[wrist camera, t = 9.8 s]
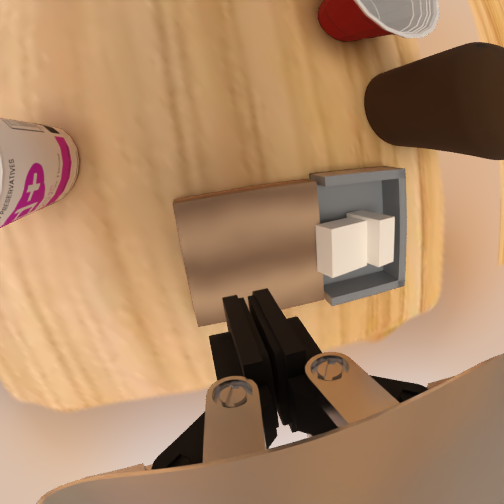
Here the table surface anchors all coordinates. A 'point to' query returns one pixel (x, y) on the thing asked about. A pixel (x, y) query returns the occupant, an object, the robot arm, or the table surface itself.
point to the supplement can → (33, 167)
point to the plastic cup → (378, 18)
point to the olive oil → (443, 102)
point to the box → (374, 200)
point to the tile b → (378, 236)
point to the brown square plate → (250, 245)
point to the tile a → (341, 246)
